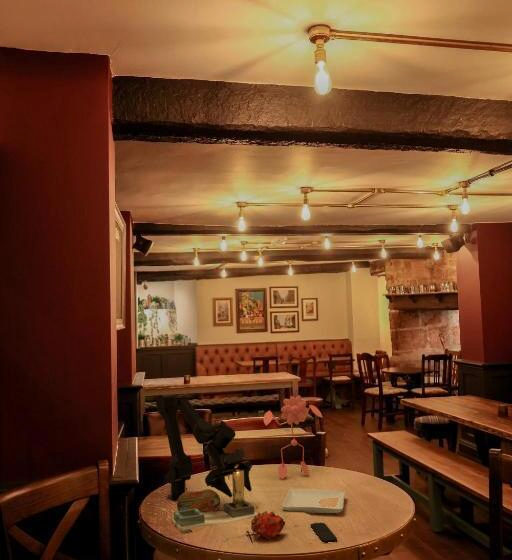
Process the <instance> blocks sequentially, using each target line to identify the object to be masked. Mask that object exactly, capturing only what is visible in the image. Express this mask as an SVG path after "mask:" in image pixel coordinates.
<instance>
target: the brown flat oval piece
mask: <svg viewBox="0 0 512 560" xmlns="http://www.w3.org/2000/svg"><path fill="white" fill-rule="evenodd" d="M220 507H221V497H220V495H219V494H218V492H217V491H215V490H213V489H210V488H208V489H207V488H206V489H198V490H190V491H189V490H187V491H186V492H184V493H183V494H181V495H180V497H179V498H178V500H176V508H177V511H183V510H189V509H195V508H197V509H198V510H199V511H200V512H202V513H203V514H204V513H210V512H216V511H219V509H220Z"/></svg>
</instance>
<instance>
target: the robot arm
mask: <svg viewBox="0 0 512 560" xmlns="http://www.w3.org/2000/svg"><path fill="white" fill-rule="evenodd" d="M155 405H156V408H157V411H158V414H159V415H160V416H161V417H162V418H163V421H164V425H165V431H166V435H167V439H168V440H167V441H168V444H169V445H168V446H169V450H170V454H171V455H170V456H171V457H170V459H169V463H168V466H169V470H167V471H168V472H167V473H166V475H164V480H165V483H168V484H170V494H168V495H167V497H168V496H169V497H170V498H171V499H170V498H169V497H168V498H169V499H170V500H172V501H177V500H178V498H179V497H180V495H181V494H183V493H184V492H187V491H186V490H187V488H186V484H187V483H186V481H188V480H191V477H192V474H193V469H194V468H193V467H194V465H193V461H192V457H191V455H187V454H186V453H185V450H184V446H183V441H182V435H181V432H180V431H181V430H180V426H179V422H178V413H179V412H180V414H181V415H182V416H183V417H184V418H185V420H186V422H187V423H188V424H189V426H190V427H191V430H192V435H193V437H194V439H195V440H196V442H197V443H198V445H199V444H200V445H205V444H207V445H206V446H203V450H202V454H203V455H208V456H209V458H210V459H211V461H212V464H211V466H212V468H215V469H211V470H210V471H209V472H208V473H207V475H206V476H205V478H204V482H205V485H206V486H207V487H211V488H214V489H216V490H218V491H219V492H221V493H222V494H224V495H226V496H227V497H229V498H233V492H232V490H231V488H230V487H229V486H228V484H227V482H226V478H225V477H228V476H232V471H233V470H244V489H246V490H247V491H248V492H251V491H252V485H251V480H250V471H251V470H252V467H253V464H252V462H251V461H250V460H245V461H243V460H244V458H245V457H246V454H245V452H244V450H243V448H238V449H236V450H235V451H233V452H231V453H230V452H227V451H226V448H228V447H229V445H230V444H231V442H232V441H233V440H234V439H235V437H236V432H235V429H233V428H232V427H231V426H228V425H226V423H220V424H219V426H218V428H217V429H216V427H215V426H213V424H212V423H211V422H208V421H206V420H205V419H203V417H201V414H200V413H199V412H198V411H197V410H196V408H195V407H194V405H192V403H191V402H190V401H189V398H188V396H187V395H183V394H182V395H177V396H176V395H175V394H174V393H173V394H165V395H159V396H158V397H157V399H156V400H155ZM240 461H241V462H240ZM238 462H240V463H238ZM236 466H237V467H236Z"/></svg>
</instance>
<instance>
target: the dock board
mask: <svg viewBox="0 0 512 560" xmlns="http://www.w3.org/2000/svg"><path fill="white" fill-rule="evenodd" d="M244 501H245V507H241V508H235V509H234V508H233V501H232V502H225V503H223V510H217V511H216V512H215V511H213V512H204V513H202V512H200V511H199V510H198V509H197V508H195V509H189V510H183V511H178V510H176V511H173V518H171V523H172V522H173V523H172V524H173V526H175V527H176V528H177V529H178V530H179V531H180V533H182V534H187V533H191V532H192V531H193V530H192V529H197V528H202V527H210V526H215V525H219V524H220V525H221V524H225V523H231V522H236V521H242V520H246V519H247V520H249V519H254V517H255V516H258V514H257V513H258V512H257V511H255V506H254V505H253V504H251V503H250V502H248V501H246V499H244ZM186 532H187V533H186Z"/></svg>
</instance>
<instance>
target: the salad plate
mask: <svg viewBox="0 0 512 560" xmlns="http://www.w3.org/2000/svg"><path fill="white" fill-rule="evenodd" d="M346 494H347V493H346V491H344V490H332V489H331V490H330V489H312V488H290V489H289V490H288V492H287V495H286V497H285V499H284V500H283V502H282V504H281V508H282V509H283V510H285V511H288V512H304V513H305V514H315V513H336V514H339V513H340V512H342V511H343V509H344V504H345V503H344V502H345V497H346ZM324 498H325V499H327V498H339V499H338V502H337V505H336V506H335V507H331V506H330V507H328V506H326V507H321V506H320V505H321V504H320V503H319V502H320V500H321V499H324Z"/></svg>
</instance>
